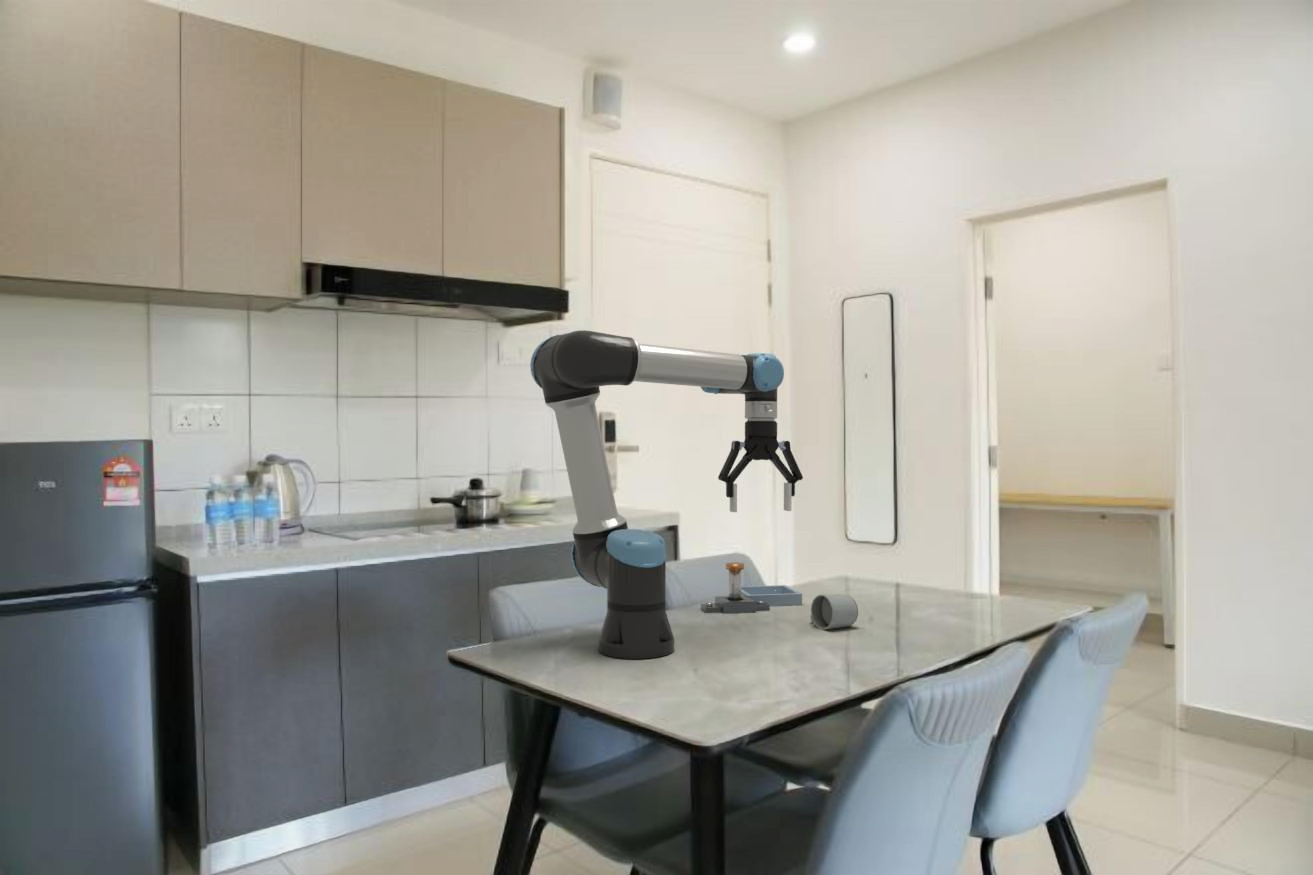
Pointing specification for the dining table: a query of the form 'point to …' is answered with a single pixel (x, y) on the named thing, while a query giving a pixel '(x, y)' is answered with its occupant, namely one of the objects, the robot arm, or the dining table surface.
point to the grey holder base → (734, 605)
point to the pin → (734, 580)
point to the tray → (773, 595)
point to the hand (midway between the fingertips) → (760, 511)
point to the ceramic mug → (833, 611)
